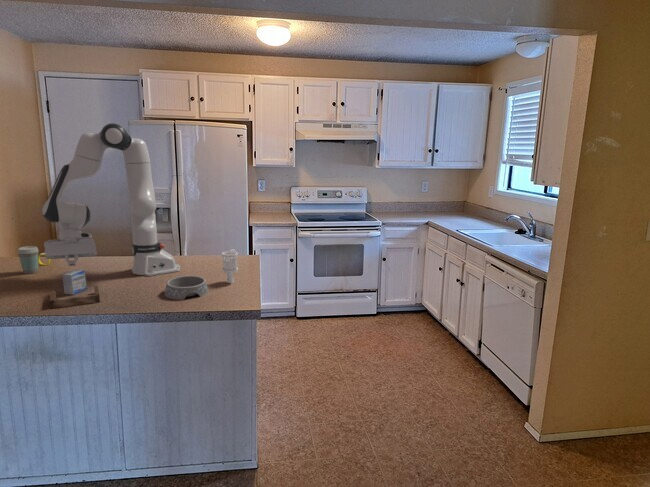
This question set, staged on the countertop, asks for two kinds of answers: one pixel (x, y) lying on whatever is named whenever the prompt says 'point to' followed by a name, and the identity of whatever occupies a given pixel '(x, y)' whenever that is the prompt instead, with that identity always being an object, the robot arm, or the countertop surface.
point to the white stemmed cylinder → (230, 264)
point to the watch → (40, 261)
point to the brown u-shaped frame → (74, 299)
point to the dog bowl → (186, 287)
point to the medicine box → (74, 282)
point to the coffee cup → (29, 259)
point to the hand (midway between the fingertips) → (72, 265)
